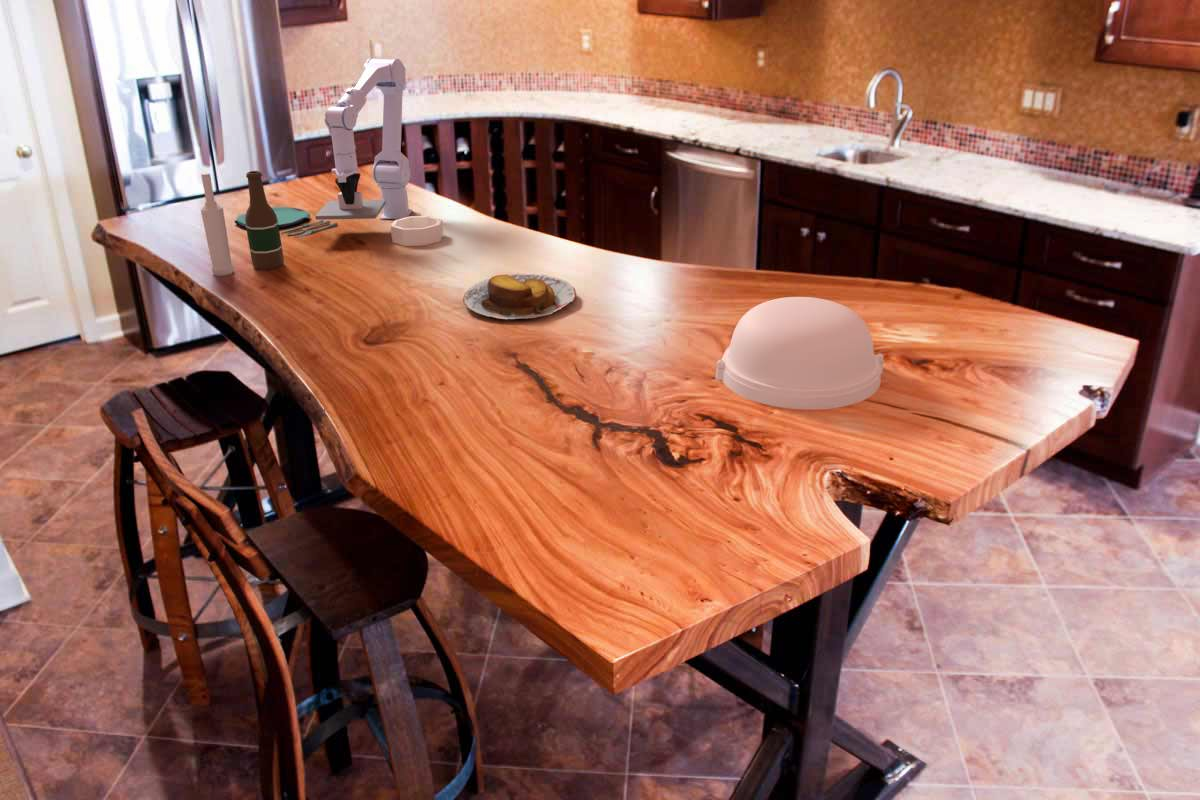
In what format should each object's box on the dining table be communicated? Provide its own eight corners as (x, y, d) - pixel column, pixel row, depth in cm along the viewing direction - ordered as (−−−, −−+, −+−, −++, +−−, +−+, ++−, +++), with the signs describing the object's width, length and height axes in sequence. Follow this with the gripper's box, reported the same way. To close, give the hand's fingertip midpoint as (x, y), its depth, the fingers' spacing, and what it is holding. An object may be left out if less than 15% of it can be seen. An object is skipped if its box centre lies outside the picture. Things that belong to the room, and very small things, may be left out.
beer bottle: (252, 263, 271) (236, 170, 261) (283, 259, 273) (269, 167, 263) (253, 272, 264) (237, 176, 254) (285, 268, 267) (270, 174, 256)
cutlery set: (281, 209, 320) (280, 202, 319) (345, 227, 303) (344, 219, 302) (224, 225, 306) (222, 217, 305) (287, 244, 289) (286, 236, 288)
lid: (329, 204, 296) (326, 186, 294) (386, 203, 296) (384, 185, 294) (315, 219, 281) (313, 201, 279) (375, 218, 281) (373, 200, 279)
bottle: (237, 269, 266) (220, 171, 256) (229, 276, 262) (211, 176, 251) (217, 269, 267) (199, 171, 256) (209, 276, 262) (190, 176, 252)
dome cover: (861, 343, 214) (867, 277, 208) (907, 407, 187) (915, 333, 181) (704, 349, 213) (706, 283, 207) (728, 414, 186) (730, 340, 180)
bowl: (398, 232, 294) (396, 216, 292) (444, 231, 294) (443, 215, 292) (390, 246, 282) (388, 229, 280) (438, 245, 282) (437, 228, 280)
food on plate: (593, 293, 245) (592, 266, 242) (545, 331, 225) (544, 302, 222) (497, 281, 255) (495, 255, 252) (443, 316, 234) (440, 288, 231)
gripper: (335, 147, 288) (341, 196, 294) (323, 158, 275) (330, 209, 281) (361, 146, 288) (367, 195, 294) (350, 158, 275) (356, 209, 281)
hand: (351, 202), depth 287 cm, fingers closed on lid, 2 cm apart
